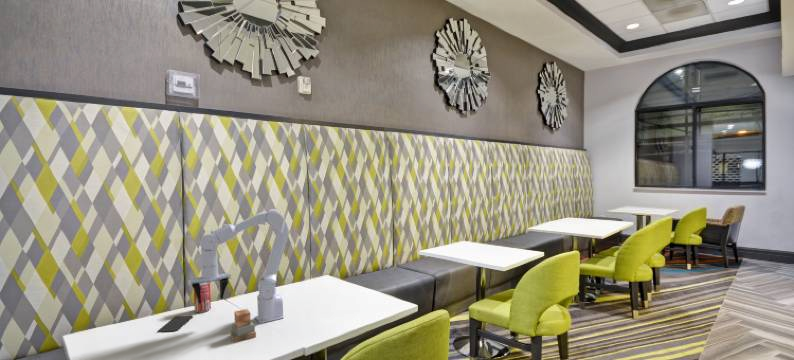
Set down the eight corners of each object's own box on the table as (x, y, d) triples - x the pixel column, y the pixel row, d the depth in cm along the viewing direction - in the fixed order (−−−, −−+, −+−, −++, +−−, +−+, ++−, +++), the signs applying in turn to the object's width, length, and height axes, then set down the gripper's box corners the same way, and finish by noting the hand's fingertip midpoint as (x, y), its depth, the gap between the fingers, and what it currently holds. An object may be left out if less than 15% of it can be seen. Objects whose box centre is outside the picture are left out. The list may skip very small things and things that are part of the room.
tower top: (248, 326, 148) (248, 319, 147) (254, 331, 143) (254, 324, 143) (231, 331, 144) (231, 324, 143) (238, 336, 139) (237, 329, 139)
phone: (156, 331, 148) (175, 316, 163) (156, 333, 148) (175, 318, 163) (176, 330, 148) (193, 315, 163) (176, 332, 148) (194, 317, 163)
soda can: (200, 314, 166) (199, 285, 165) (191, 311, 169) (190, 283, 169) (214, 309, 171) (213, 282, 171) (205, 306, 174) (204, 280, 174)
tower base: (251, 332, 148) (250, 325, 148) (255, 339, 142) (255, 332, 142) (231, 337, 144) (230, 330, 144) (235, 344, 138) (235, 337, 138)
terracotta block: (247, 320, 146) (247, 308, 146) (250, 324, 143) (250, 312, 142) (234, 323, 144) (234, 311, 144) (237, 327, 140) (237, 315, 140)
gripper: (189, 270, 144) (191, 307, 144) (232, 264, 152) (233, 299, 152) (187, 266, 149) (188, 302, 150) (228, 260, 158) (229, 294, 158)
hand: (210, 300), depth 151 cm, fingers open, 7 cm apart
